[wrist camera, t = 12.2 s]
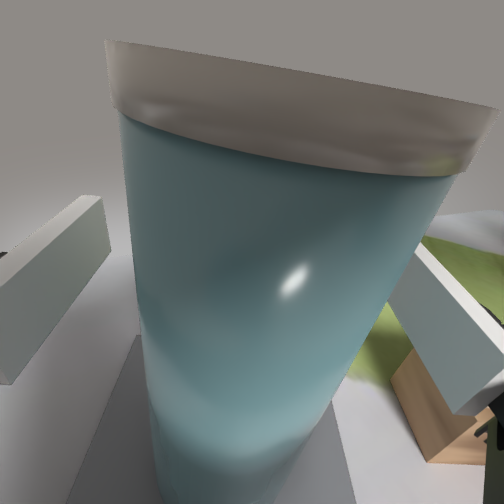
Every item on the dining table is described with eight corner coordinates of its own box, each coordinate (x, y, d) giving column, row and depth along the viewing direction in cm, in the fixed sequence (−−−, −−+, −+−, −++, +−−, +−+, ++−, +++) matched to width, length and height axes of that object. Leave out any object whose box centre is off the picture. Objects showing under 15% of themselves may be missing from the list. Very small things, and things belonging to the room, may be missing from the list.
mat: (317, 353, 25) (319, 350, 25) (394, 679, 12) (398, 678, 11) (137, 338, 24) (136, 334, 23) (-6, 685, 10) (-11, 686, 10)
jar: (279, 390, 21) (387, 94, 10) (294, 543, 14) (657, 136, 4) (171, 382, 20) (166, 54, 10) (132, 538, 14) (-38, 9, 3)
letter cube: (453, 384, 24) (497, 339, 21) (505, 466, 19) (574, 425, 16) (389, 380, 24) (423, 333, 20) (426, 463, 19) (479, 419, 15)
